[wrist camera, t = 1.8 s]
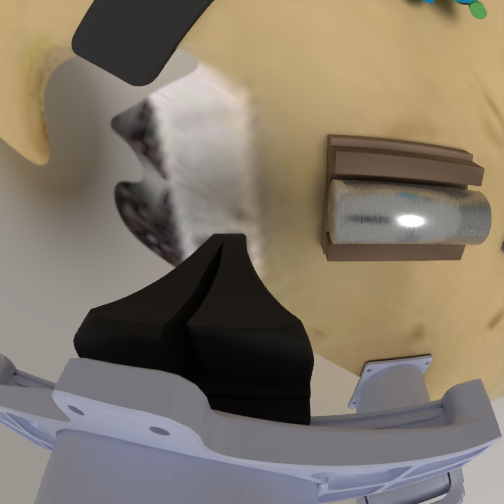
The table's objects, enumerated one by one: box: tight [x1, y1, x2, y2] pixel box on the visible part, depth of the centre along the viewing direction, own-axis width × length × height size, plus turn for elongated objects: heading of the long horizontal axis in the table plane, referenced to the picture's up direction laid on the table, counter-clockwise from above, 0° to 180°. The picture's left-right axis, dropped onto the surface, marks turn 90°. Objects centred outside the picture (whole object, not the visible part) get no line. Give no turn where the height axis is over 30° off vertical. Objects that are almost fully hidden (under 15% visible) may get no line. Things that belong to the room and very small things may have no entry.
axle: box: [328, 180, 491, 245], centre depth 15 cm, size 10×4×4 cm, turn 93°
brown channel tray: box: [322, 135, 484, 261], centre depth 17 cm, size 8×10×2 cm
